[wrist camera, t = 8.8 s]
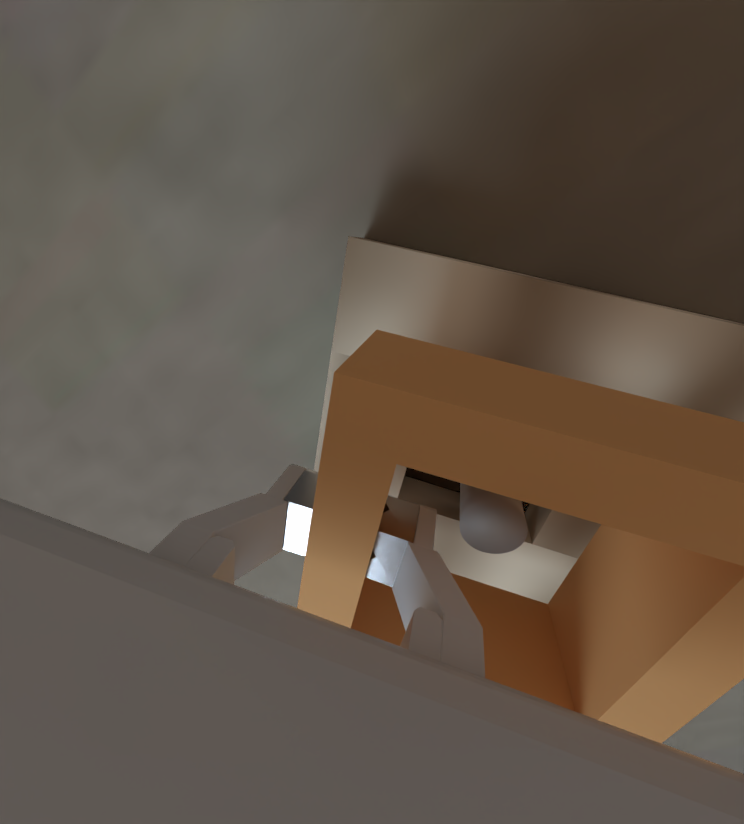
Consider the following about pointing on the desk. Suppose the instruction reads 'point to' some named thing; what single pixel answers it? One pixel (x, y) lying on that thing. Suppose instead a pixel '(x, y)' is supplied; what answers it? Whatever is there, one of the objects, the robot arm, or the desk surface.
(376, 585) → the orange square frame
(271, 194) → the desk surface
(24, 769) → the robot arm
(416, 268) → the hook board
